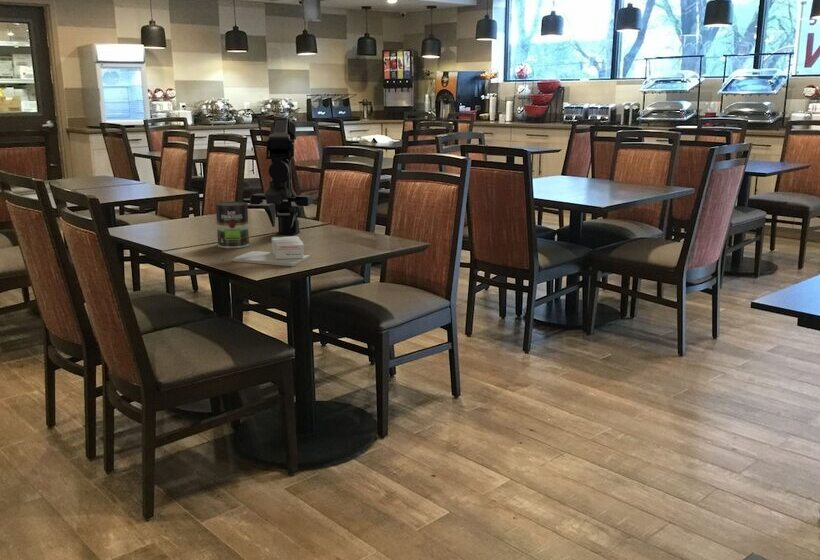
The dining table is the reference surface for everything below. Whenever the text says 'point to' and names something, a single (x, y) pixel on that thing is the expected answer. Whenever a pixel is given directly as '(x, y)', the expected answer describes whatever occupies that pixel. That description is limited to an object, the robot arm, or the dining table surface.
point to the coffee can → (232, 224)
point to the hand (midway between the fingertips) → (282, 227)
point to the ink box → (287, 247)
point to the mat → (268, 259)
